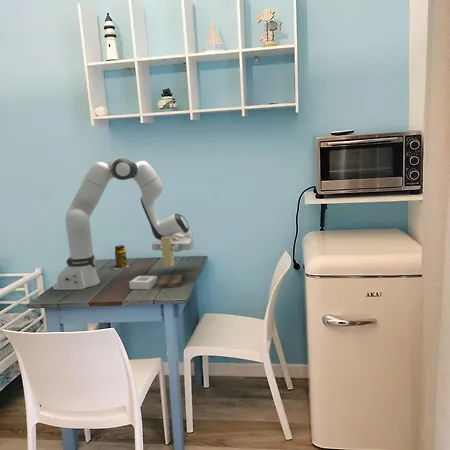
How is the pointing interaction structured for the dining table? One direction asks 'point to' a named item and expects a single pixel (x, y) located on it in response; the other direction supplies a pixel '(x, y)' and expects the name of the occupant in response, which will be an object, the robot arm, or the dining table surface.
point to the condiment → (120, 257)
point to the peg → (167, 251)
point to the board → (169, 281)
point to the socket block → (143, 282)
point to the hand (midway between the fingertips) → (166, 249)
